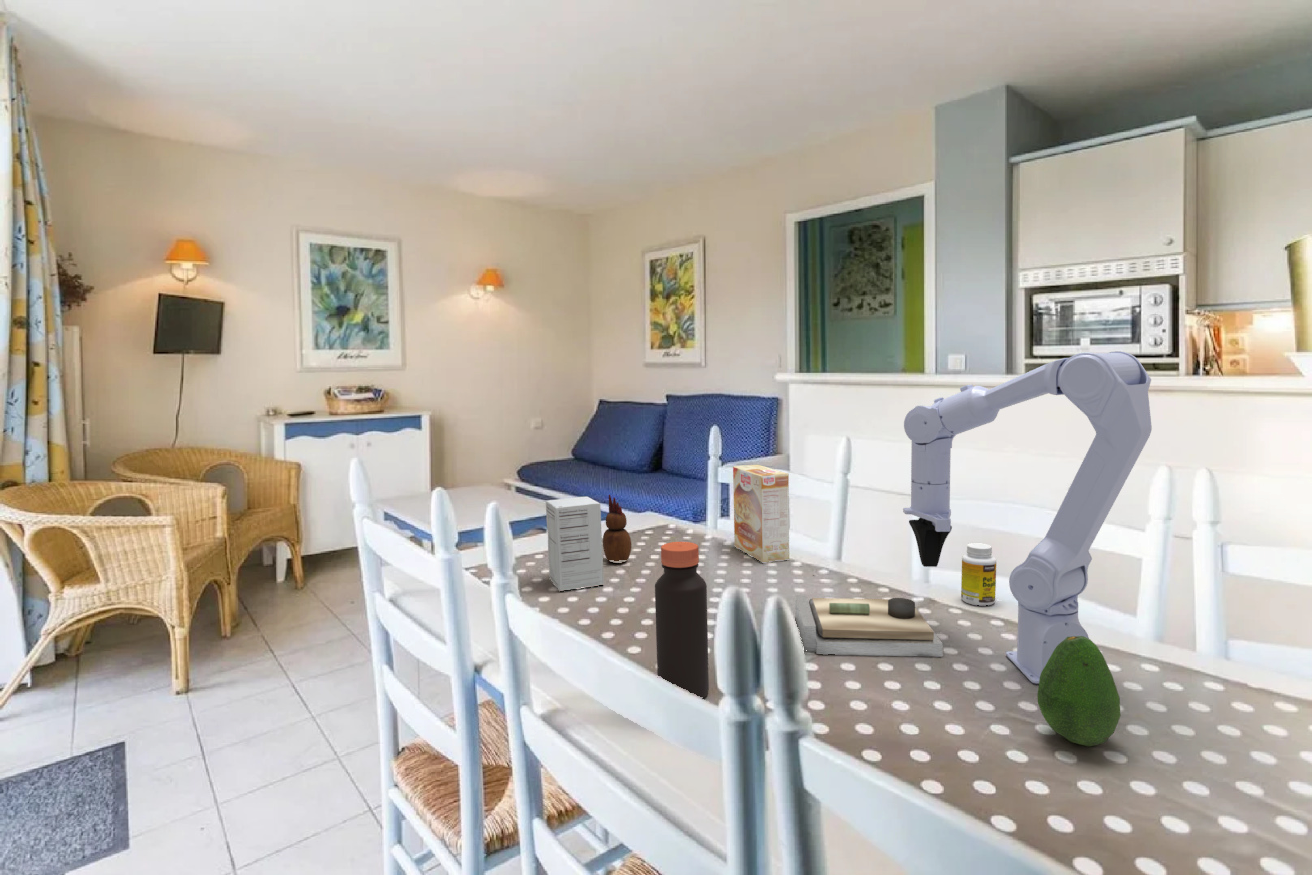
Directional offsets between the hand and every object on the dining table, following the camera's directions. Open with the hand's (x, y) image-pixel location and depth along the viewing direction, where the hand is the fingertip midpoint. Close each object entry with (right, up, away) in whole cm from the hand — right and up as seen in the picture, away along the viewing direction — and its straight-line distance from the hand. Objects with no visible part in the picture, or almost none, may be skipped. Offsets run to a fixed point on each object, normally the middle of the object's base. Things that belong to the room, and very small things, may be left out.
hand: (929, 565), depth 111 cm
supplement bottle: (+14, -9, +13) cm, 21 cm away
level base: (-10, -11, -1) cm, 15 cm away
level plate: (-10, -9, -1) cm, 13 cm away
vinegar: (-40, -14, -18) cm, 46 cm away
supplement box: (-60, -9, +30) cm, 68 cm away
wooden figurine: (-52, -8, +44) cm, 69 cm away
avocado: (+4, -14, -32) cm, 35 cm away
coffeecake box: (-20, -6, +47) cm, 52 cm away
